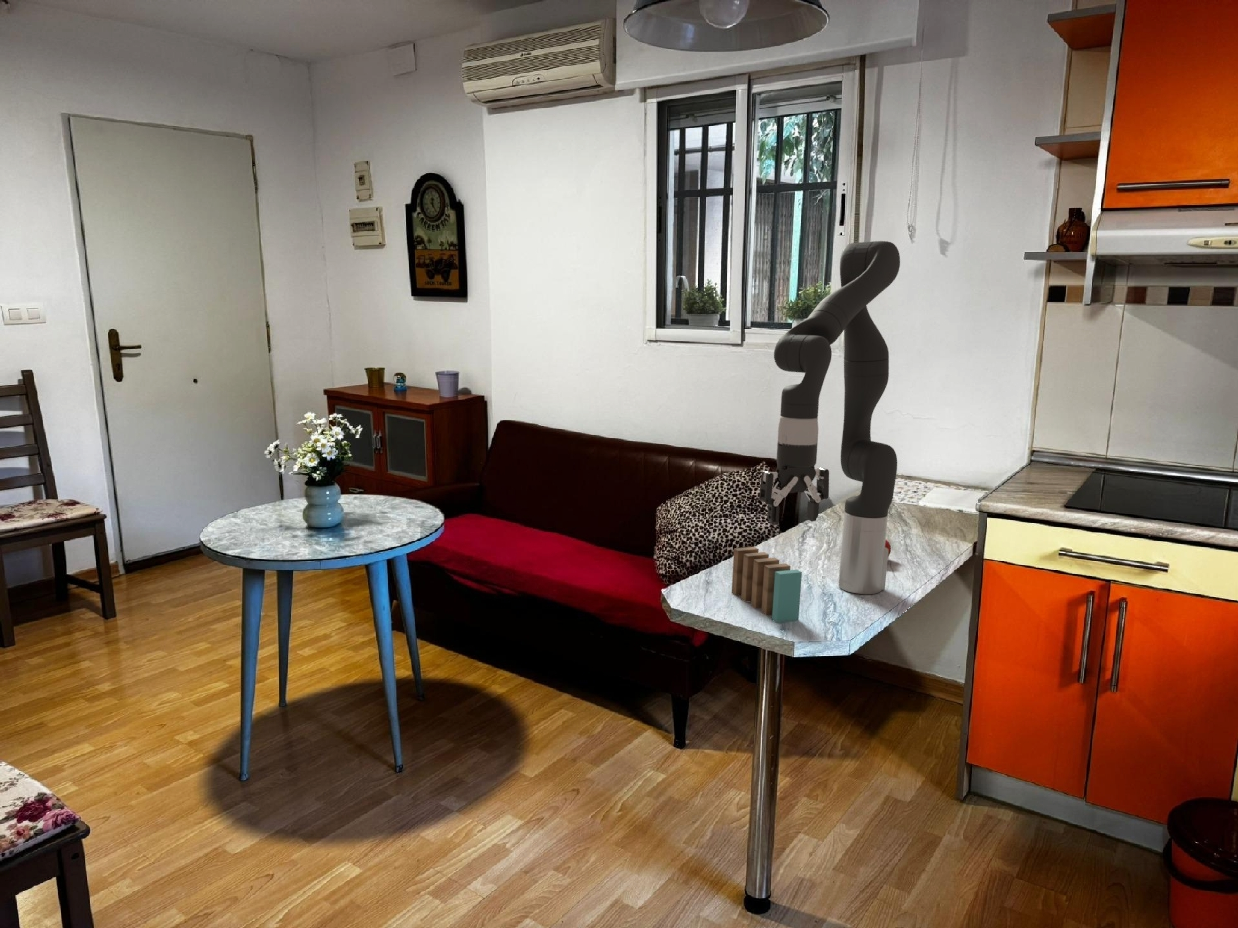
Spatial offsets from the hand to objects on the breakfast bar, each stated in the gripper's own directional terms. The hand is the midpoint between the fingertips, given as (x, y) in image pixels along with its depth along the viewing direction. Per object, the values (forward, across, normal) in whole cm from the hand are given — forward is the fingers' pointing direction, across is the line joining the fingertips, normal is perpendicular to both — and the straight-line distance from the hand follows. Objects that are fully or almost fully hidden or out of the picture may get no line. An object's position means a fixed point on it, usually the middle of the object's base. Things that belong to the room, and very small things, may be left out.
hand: (792, 522), depth 166 cm
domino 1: (+20, 0, -17) cm, 26 cm away
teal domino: (+20, 0, 0) cm, 20 cm away
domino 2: (+20, 0, -13) cm, 24 cm away
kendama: (+21, -40, -26) cm, 52 cm away
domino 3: (+20, 0, -8) cm, 22 cm away
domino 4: (+20, 0, -4) cm, 21 cm away
